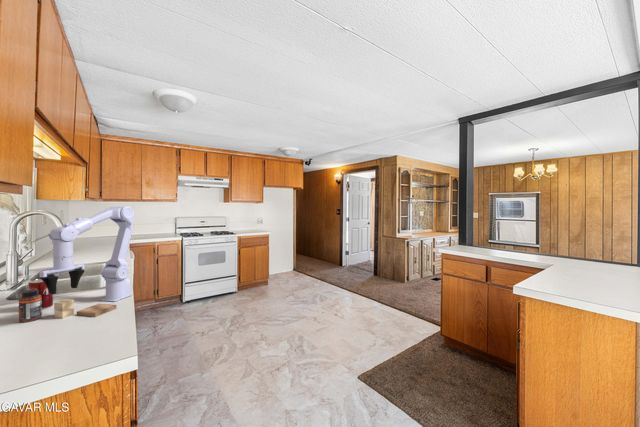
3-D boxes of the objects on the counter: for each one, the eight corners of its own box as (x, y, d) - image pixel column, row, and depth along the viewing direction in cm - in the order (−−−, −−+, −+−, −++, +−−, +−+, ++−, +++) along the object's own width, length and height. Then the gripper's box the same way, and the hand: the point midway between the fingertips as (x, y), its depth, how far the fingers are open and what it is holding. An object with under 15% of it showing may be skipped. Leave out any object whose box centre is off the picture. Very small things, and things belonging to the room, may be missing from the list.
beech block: (65, 313, 108) (65, 299, 108) (73, 314, 107) (73, 299, 107) (54, 317, 104) (54, 302, 104) (62, 318, 103) (62, 303, 103)
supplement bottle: (16, 320, 101) (16, 291, 101) (38, 315, 106) (38, 287, 106) (22, 324, 98) (21, 293, 98) (44, 318, 103) (43, 289, 103)
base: (98, 307, 115) (98, 303, 115) (116, 308, 114) (116, 304, 114) (76, 315, 106) (76, 311, 106) (95, 316, 105) (95, 312, 105)
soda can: (53, 303, 119) (52, 277, 119) (53, 308, 114) (52, 280, 113) (29, 308, 114) (28, 280, 114) (27, 312, 109) (27, 283, 108)
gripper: (74, 253, 113) (75, 285, 113) (32, 259, 99) (33, 296, 99) (88, 253, 112) (89, 285, 112) (48, 260, 97) (48, 297, 98)
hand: (63, 290), depth 105 cm, fingers open, 7 cm apart
